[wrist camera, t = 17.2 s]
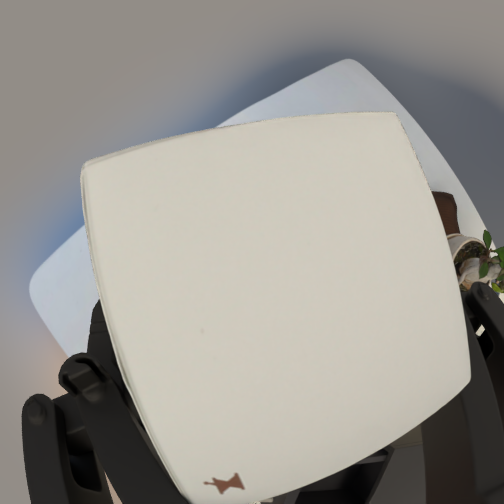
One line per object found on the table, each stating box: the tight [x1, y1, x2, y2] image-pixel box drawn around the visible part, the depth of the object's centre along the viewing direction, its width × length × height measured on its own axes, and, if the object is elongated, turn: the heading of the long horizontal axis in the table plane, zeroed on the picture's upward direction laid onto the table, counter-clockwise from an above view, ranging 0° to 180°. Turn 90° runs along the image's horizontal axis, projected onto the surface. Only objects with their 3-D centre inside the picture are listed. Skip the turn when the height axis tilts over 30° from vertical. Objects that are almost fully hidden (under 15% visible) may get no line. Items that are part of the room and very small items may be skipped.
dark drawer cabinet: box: [365, 424, 426, 504], centre depth 25 cm, size 15×13×10 cm
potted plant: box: [431, 191, 504, 293], centre depth 26 cm, size 20×19×25 cm
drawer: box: [258, 448, 389, 504], centre depth 24 cm, size 18×11×8 cm, turn 77°
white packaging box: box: [80, 112, 471, 504], centre depth 11 cm, size 7×7×13 cm
